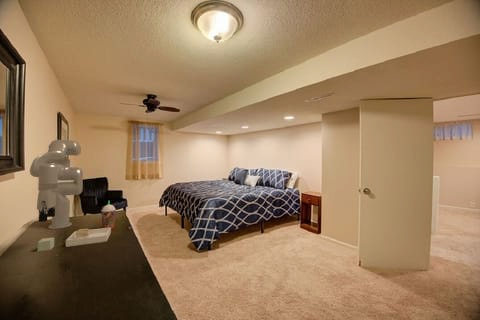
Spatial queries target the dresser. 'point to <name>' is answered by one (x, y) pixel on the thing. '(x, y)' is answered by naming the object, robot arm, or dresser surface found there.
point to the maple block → (82, 233)
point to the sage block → (46, 244)
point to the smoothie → (108, 216)
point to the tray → (89, 237)
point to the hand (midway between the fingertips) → (47, 218)
